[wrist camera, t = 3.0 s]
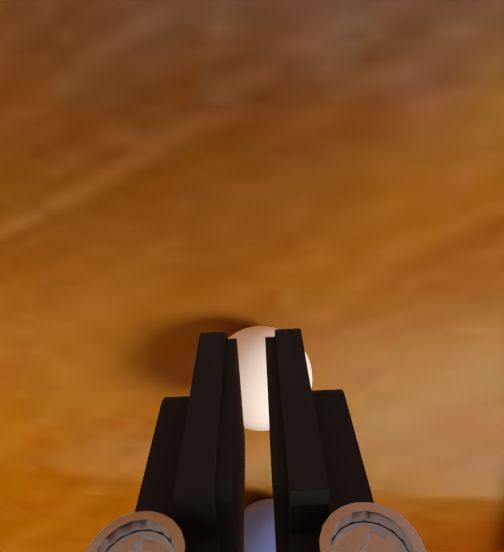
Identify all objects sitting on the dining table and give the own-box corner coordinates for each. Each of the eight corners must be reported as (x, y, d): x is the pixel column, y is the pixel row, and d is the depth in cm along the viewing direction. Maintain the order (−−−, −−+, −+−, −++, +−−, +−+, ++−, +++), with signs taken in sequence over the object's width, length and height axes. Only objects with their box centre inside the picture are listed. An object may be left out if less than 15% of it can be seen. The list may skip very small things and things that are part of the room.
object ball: (227, 482, 33) (224, 560, 28) (306, 479, 33) (316, 556, 28) (233, 534, 35) (230, 613, 30) (306, 531, 35) (316, 610, 30)
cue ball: (209, 309, 27) (200, 369, 22) (306, 304, 27) (319, 364, 22) (217, 386, 29) (211, 456, 24) (306, 382, 29) (318, 451, 24)
